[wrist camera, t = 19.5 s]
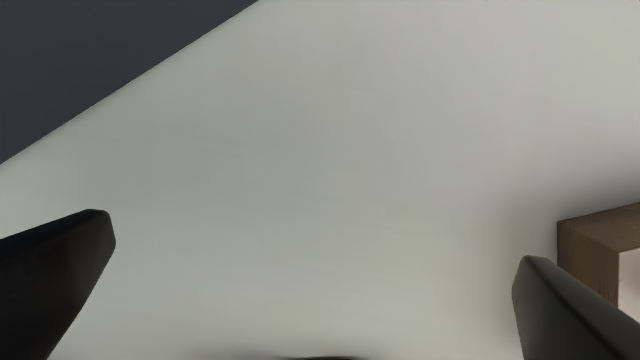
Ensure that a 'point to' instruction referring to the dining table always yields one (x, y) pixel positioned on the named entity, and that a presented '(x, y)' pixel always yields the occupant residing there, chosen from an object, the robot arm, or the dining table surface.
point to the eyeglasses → (328, 359)
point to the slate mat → (86, 54)
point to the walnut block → (605, 255)
